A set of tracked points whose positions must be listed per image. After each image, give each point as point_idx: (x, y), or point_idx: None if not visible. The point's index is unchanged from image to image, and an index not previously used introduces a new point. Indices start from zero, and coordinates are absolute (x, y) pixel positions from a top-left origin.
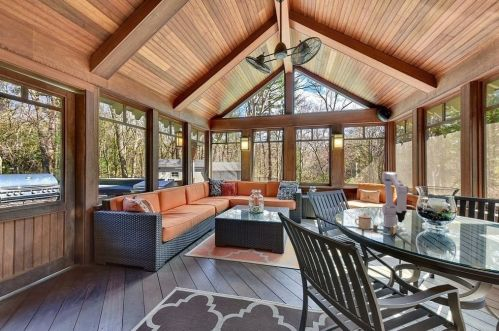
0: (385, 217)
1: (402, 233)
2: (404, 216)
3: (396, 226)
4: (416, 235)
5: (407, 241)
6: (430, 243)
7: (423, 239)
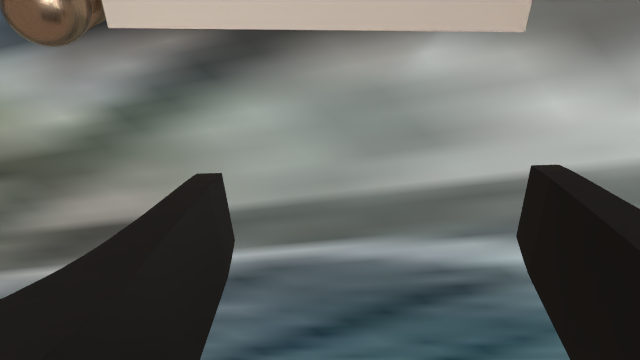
0: None
1: (437, 84)
2: (571, 352)
3: (408, 26)
4: (454, 239)
5: (58, 199)
6: (213, 352)
7: (315, 304)
